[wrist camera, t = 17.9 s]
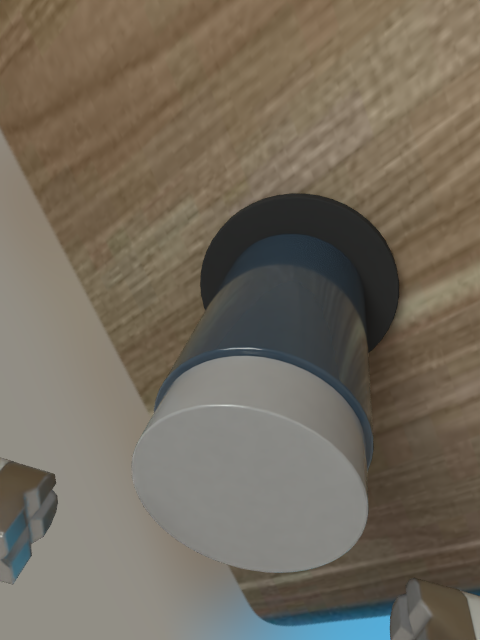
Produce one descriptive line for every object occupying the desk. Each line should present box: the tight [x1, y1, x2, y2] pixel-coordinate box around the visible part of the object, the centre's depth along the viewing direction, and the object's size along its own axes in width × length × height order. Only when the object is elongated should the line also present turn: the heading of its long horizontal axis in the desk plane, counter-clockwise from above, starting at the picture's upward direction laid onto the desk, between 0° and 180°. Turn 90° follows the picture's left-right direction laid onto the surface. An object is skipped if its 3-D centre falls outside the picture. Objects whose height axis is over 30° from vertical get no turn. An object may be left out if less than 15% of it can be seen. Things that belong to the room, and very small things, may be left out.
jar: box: [132, 234, 374, 573], centre depth 16 cm, size 12×6×12 cm
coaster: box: [200, 194, 399, 353], centre depth 21 cm, size 9×9×1 cm
